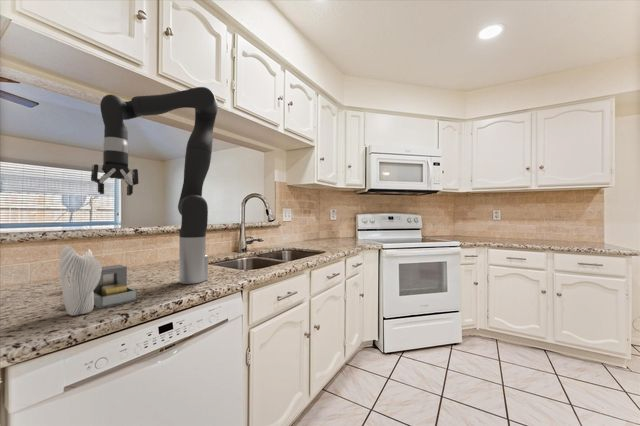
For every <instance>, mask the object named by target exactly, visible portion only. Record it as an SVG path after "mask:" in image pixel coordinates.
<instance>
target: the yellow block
mask: <svg viewBox="0 0 640 426" xmlns="http://www.w3.org/2000/svg"><path fill="white" fill-rule="evenodd" d="M127 287H128V285H127V286H126V285H124V284H116V285H111V286H105V287H102V297H104V296H109V295H114V294H120V293H125V292H127Z"/></svg>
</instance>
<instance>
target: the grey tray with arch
mask: <svg viewBox="0 0 640 426" xmlns="http://www.w3.org/2000/svg"><path fill="white" fill-rule="evenodd" d="M101 267H102V271H101V277H100V280H99V282H98V284H97V286H96V288H95V289H94V290H93V292H94V306H95V307H96V308H98V309H99V310H100V309H106V308H109V307H110V308H111V307H114V306H118V305H123V304H128V303H132V302H136V301H138V290H137V289H134V288H132V287H130V286H128V282H127V281H128V280H127V279H128V267H127V266H125V265H123V264H114V265H105V266H101ZM113 273H114V283H110V284H104V285H103V275H106V274H113ZM116 284H124V285H126V286H127V292H125V293H120V294H114V295H109V296H104V297H102V287H105V286H111V285H116Z"/></svg>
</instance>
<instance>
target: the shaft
mask: <svg viewBox="0 0 640 426" xmlns="http://www.w3.org/2000/svg"><path fill="white" fill-rule="evenodd" d="M110 283H114V273H113V274H106V275H103V285H104V284H110Z"/></svg>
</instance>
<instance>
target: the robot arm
mask: <svg viewBox="0 0 640 426" xmlns="http://www.w3.org/2000/svg"><path fill="white" fill-rule="evenodd" d="M99 104H100V105H99V107H100V113H101V117H102V122H103V125H104V131H103V133H104V137H103V138H104V139H103V146H102V147H103V151H102V152H103V153H102V155H103V157H102V159H103V160H102V161H103V162H102V163H103V164H102V165H98V164H97V163H96V164H92V165H91V173H90V174H91V175H90V182H93V183H97V192H98V193H99V194H100V195H104V194H105V183H104V182H106V180H108V179H117V180H122V181H123V182H125V184H126V185H127V186H126V196H131V195H133V193H134V191H133V190H134V189H133V188H134V186H135V185H138V184H139V171H138V169H137V168H132V169H131V168H129V152H130V151H129V143H128V142H129V140H128V138H129V137H128V133H129V132H128V128H127V126H126V124H125V123H124V121H127V120H131V119H133V120H134V119H136V118H139V117H143V116H144V117H147V116H157V115H158V116H159V115H162V114H163V115H164V114H167V113H169V112H172V111H174V110H178V109H184V108H189V109H191V108H192V109H194V115H195V116H194V126H193V129H192V132H191V133H190V135H189V138H188V140H187V144H186V147H185V148H186V149H185V156H184V167H183V183H182V188H181V193H180V195H179V200H178V202H177V203H178V204H177V209H178V212H179V215H180V216H181V224H180V225H181V226H180V229H179V240H178V241H179V242H178V243H179V244H178V245H179V247H178V248H179V251H178V252H179V255H178V257H179V259H178V262H179V265H178V267H179V269H178V272H179V273H178V278H179V279H178V283H180V284H184V285H191V284H199V283H202V282H206V281H208V280H209V279H208V278H209V276H208V274H209V272H208V270H209V269H208V267H209V266H208V265H209V263H208V262H209V257H208V255H206V251H207V250H206V246H207V245H206V244H207V243H206V242H207V241H206V234H207V229H208V220H209V219H208V218H209V206H208V203H207V200H206V199H205V198H204V197H203V186H204V182H205V180H206V177H207V174H208V173H209V170H210V166H211V159H212V151H213V142H214V141H213V140H214V138H213V137H214V135H213V134H214V129H215V128H214V127H215V122H216V118H217V115H218V114H217V113H218V110H219V103H218V101H217V98H216V95H215V94H214V92H213V91H212V90H211V89H210V88H208V87H205V86H198V87H193V88H189V89H185V90H179V91H174V92H169V93H163V94H162V93H161V94H152V95H137V96H134V97H132V98H131V100H128V101H124V100H122V99H121V98H120V97H118V96H117V95H114V94H106V95H105V96H103V97H102V98H101V100H100V103H99ZM101 170H102V172H104V173H103V175H102V176H101V177H100V178H98V176H99V175H98V174H99V172H100V171H101ZM128 174H130V175H131V177H129V176H128ZM131 179H132V180H131Z"/></svg>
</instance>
